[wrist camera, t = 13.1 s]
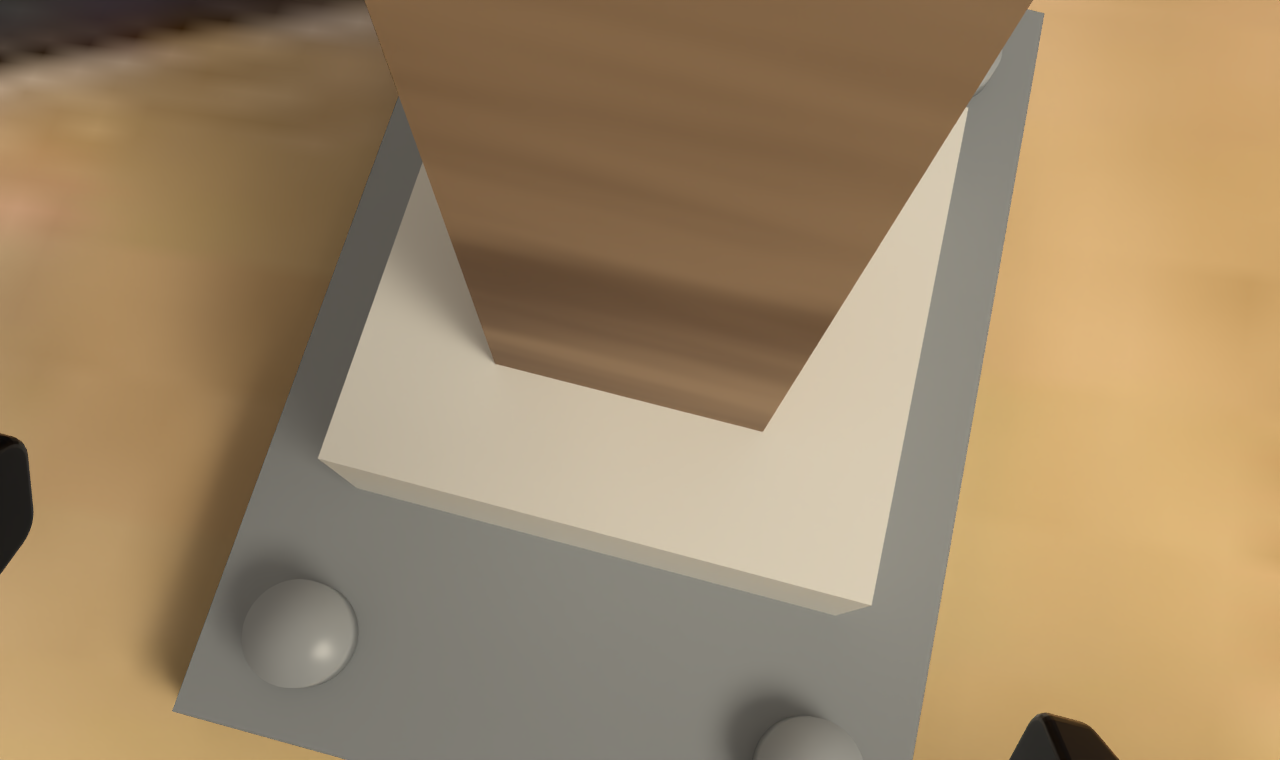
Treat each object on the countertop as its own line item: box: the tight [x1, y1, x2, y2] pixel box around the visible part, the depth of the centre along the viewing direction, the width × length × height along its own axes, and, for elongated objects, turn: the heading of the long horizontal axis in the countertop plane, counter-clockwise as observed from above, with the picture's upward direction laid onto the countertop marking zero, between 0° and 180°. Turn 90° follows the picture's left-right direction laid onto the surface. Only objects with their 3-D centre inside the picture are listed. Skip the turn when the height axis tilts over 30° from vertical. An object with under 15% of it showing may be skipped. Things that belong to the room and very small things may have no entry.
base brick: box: [172, 9, 1044, 760], centre depth 22 cm, size 20×14×4 cm
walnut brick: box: [365, 0, 1033, 432], centre depth 14 cm, size 5×5×12 cm
